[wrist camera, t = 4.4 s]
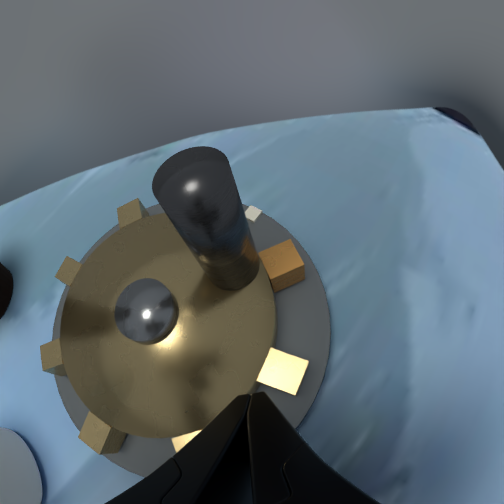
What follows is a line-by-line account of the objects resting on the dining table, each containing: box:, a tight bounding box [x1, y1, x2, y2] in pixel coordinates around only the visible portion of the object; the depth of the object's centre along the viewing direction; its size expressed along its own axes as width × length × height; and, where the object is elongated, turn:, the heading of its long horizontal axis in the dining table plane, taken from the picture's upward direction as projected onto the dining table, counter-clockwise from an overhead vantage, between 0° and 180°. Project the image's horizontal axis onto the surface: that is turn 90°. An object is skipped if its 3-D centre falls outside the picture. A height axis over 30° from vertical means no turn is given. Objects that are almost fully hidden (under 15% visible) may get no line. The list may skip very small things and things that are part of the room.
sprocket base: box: [52, 204, 331, 477], centre depth 19 cm, size 20×20×1 cm
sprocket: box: [40, 146, 309, 455], centre depth 15 cm, size 18×18×10 cm
